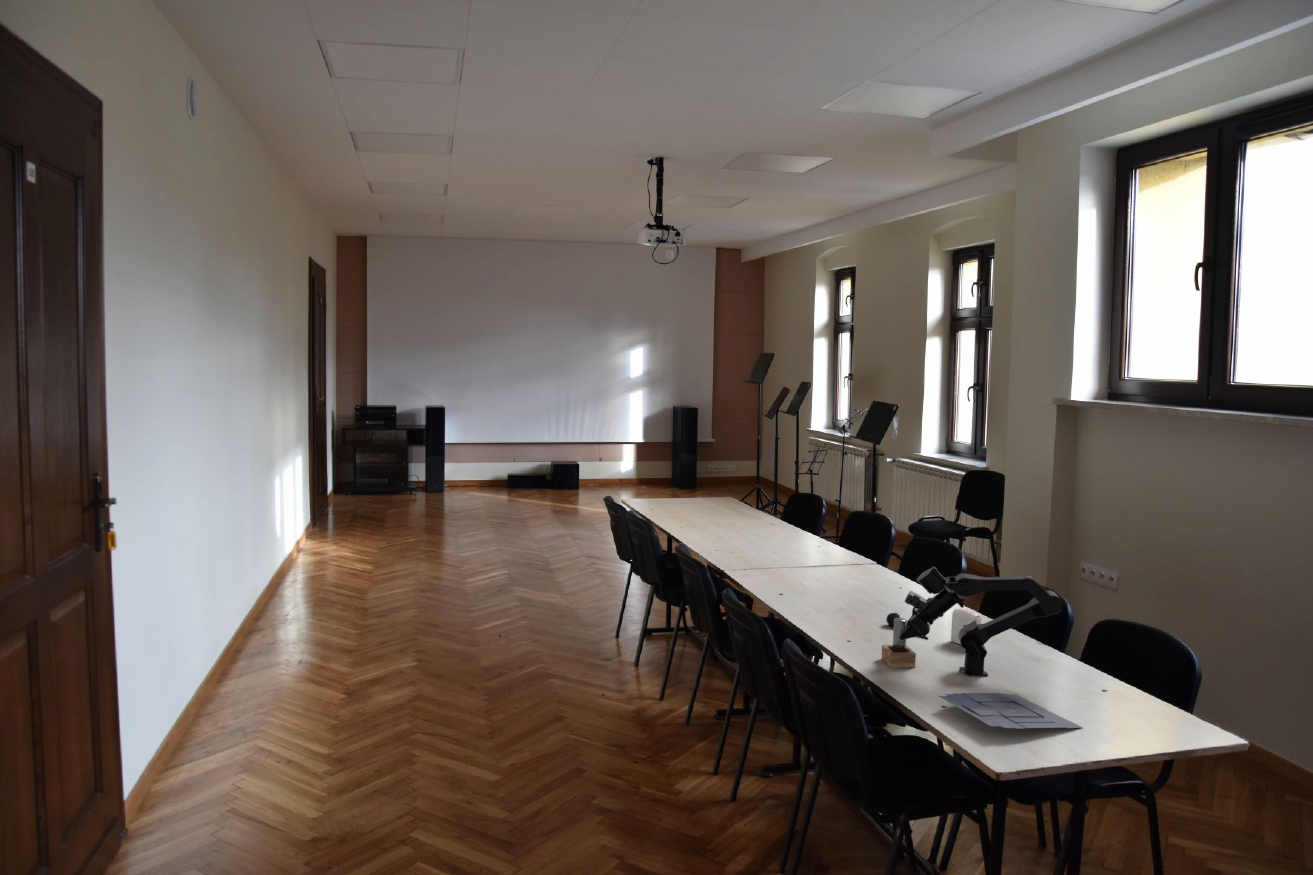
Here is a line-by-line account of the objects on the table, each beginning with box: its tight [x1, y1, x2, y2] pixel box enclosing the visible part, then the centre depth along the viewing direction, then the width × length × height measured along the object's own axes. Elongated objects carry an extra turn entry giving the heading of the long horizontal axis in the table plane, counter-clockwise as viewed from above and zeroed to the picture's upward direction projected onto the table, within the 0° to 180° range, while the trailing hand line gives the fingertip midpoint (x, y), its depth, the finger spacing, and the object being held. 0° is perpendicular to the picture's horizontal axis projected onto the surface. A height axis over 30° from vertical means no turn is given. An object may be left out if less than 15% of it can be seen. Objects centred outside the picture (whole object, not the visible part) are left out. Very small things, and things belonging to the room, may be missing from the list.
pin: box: [892, 617, 908, 652], centre depth 275 cm, size 4×4×12 cm
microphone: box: [885, 612, 929, 640], centre depth 308 cm, size 5×5×19 cm
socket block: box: [881, 644, 917, 669], centre depth 276 cm, size 8×8×4 cm
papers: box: [938, 692, 1084, 729], centre depth 236 cm, size 24×30×4 cm
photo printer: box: [950, 607, 982, 645], centre depth 295 cm, size 10×4×12 cm, turn 29°
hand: (901, 634), depth 275 cm, fingers open, 9 cm apart
